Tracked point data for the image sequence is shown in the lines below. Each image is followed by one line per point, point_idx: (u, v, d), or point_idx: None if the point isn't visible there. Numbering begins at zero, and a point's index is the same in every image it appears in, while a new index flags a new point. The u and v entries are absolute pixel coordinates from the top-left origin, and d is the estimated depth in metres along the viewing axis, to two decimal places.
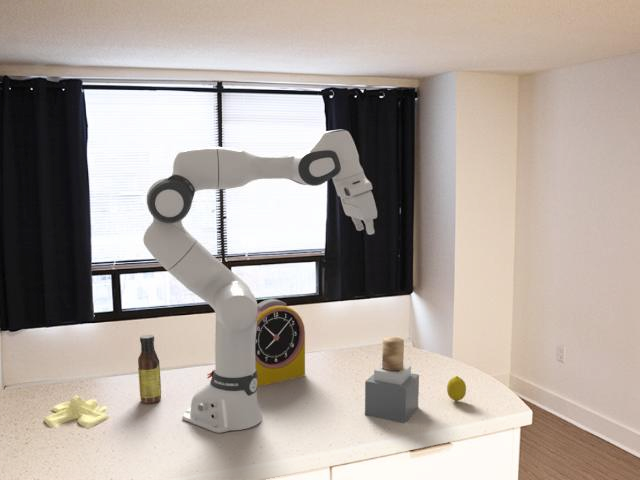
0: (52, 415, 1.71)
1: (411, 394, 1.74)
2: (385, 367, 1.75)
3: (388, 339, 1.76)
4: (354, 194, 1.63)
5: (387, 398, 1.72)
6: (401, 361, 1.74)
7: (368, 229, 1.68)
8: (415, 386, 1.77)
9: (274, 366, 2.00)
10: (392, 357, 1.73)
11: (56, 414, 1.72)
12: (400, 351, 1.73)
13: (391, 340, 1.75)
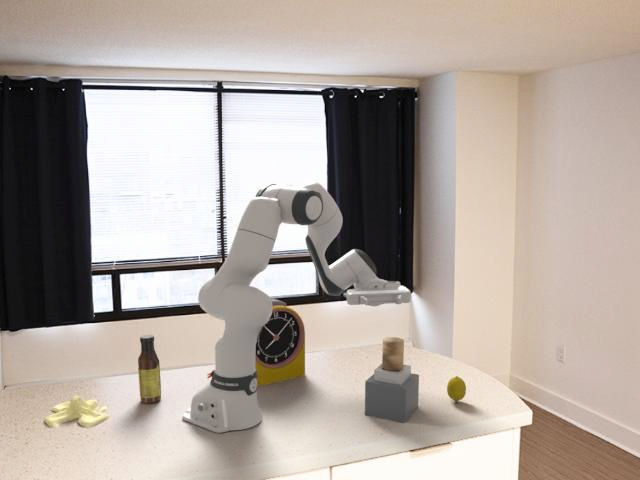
0: (52, 415, 1.71)
1: (411, 394, 1.74)
2: (385, 367, 1.75)
3: (388, 339, 1.76)
4: (400, 285, 1.99)
5: (387, 398, 1.72)
6: (401, 361, 1.74)
7: (400, 298, 1.88)
8: (415, 386, 1.77)
9: (274, 366, 2.00)
10: (392, 357, 1.73)
11: (56, 414, 1.72)
12: (400, 351, 1.73)
13: (391, 340, 1.75)
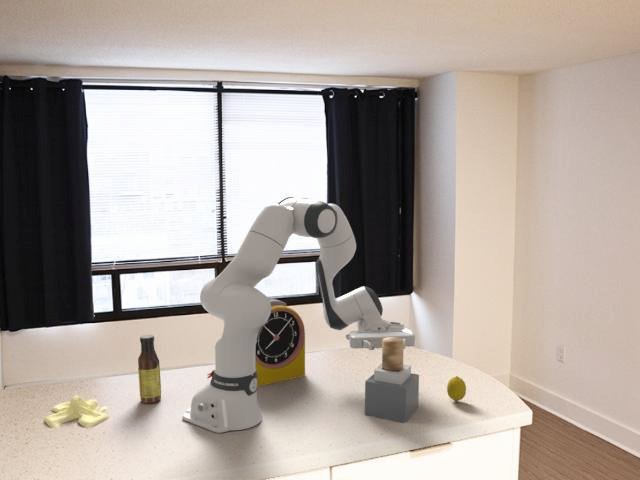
0: (52, 415, 1.71)
1: (411, 394, 1.74)
2: (385, 367, 1.75)
3: (388, 339, 1.76)
4: None
5: (387, 398, 1.72)
6: (401, 361, 1.74)
7: (404, 342, 1.84)
8: (415, 386, 1.77)
9: (274, 366, 2.00)
10: (392, 357, 1.73)
11: (56, 414, 1.72)
12: (400, 351, 1.73)
13: (391, 340, 1.75)
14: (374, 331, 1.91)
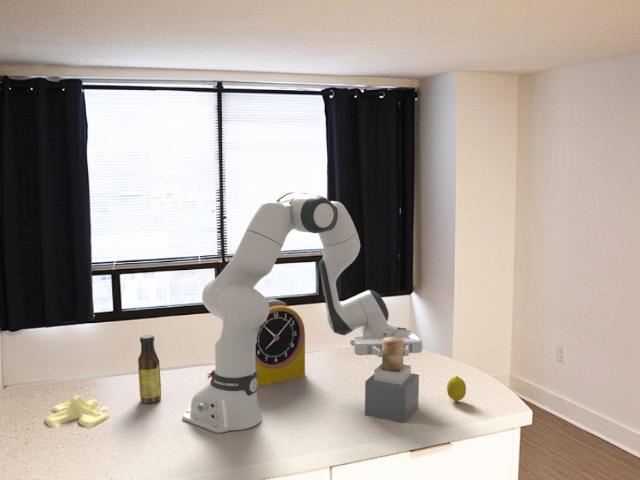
0: (52, 415, 1.71)
1: (411, 394, 1.74)
2: (385, 367, 1.75)
3: (388, 339, 1.76)
4: (410, 332, 1.88)
5: (387, 398, 1.72)
6: (401, 361, 1.74)
7: (407, 349, 1.77)
8: (415, 386, 1.77)
9: (274, 366, 2.00)
10: (392, 357, 1.73)
11: (56, 414, 1.72)
12: (400, 351, 1.73)
13: (391, 340, 1.75)
14: (380, 337, 1.85)
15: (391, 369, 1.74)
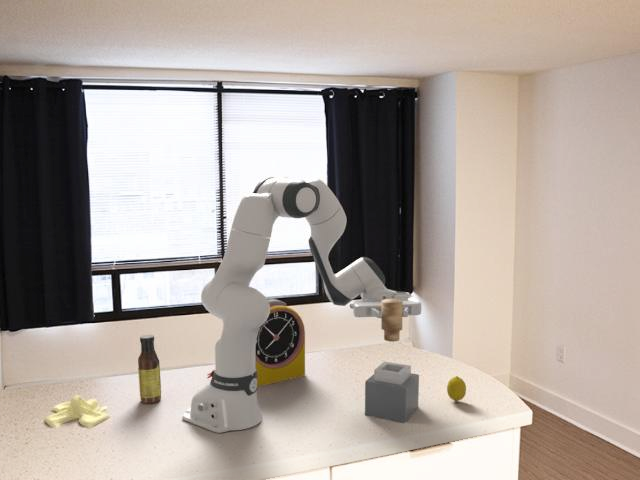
0: (53, 415, 1.71)
1: (411, 394, 1.74)
2: (384, 328, 1.75)
3: (387, 300, 1.77)
4: (410, 296, 1.89)
5: (387, 398, 1.72)
6: (400, 322, 1.75)
7: (406, 310, 1.78)
8: (415, 386, 1.77)
9: (274, 366, 2.00)
10: (391, 318, 1.74)
11: (57, 414, 1.72)
12: (399, 312, 1.74)
13: (390, 301, 1.76)
14: (379, 300, 1.85)
15: (390, 330, 1.74)
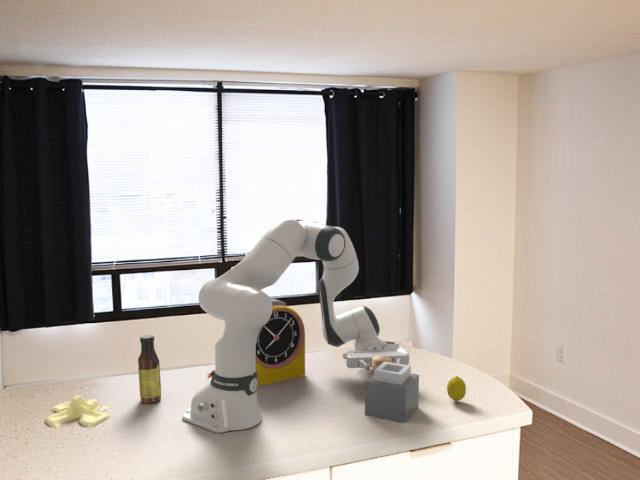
0: (53, 415, 1.72)
1: (411, 394, 1.74)
2: None
3: (377, 358, 1.90)
4: None
5: (387, 398, 1.72)
6: None
7: (398, 362, 1.91)
8: (415, 386, 1.77)
9: (274, 366, 2.00)
10: None
11: (57, 414, 1.72)
12: None
13: (380, 359, 1.89)
14: (370, 351, 1.99)
15: None
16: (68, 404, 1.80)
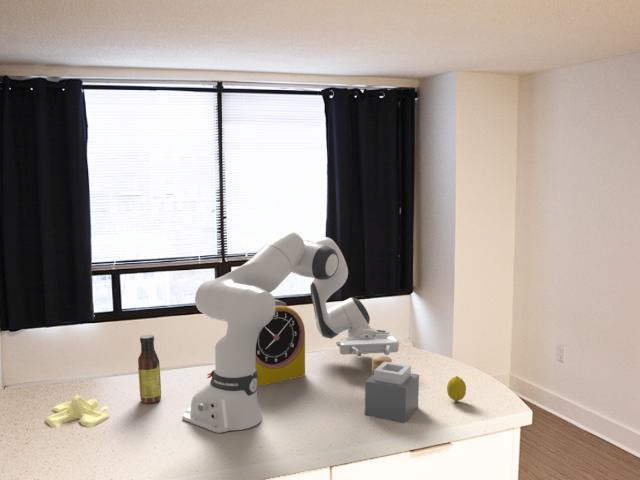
0: (53, 415, 1.72)
1: (411, 394, 1.74)
2: None
3: (377, 358, 1.90)
4: (389, 334, 2.15)
5: (387, 398, 1.72)
6: None
7: (388, 349, 2.04)
8: (415, 386, 1.77)
9: (274, 366, 2.00)
10: None
11: (57, 414, 1.72)
12: None
13: (380, 359, 1.90)
14: (362, 338, 2.11)
15: None
16: (68, 404, 1.80)
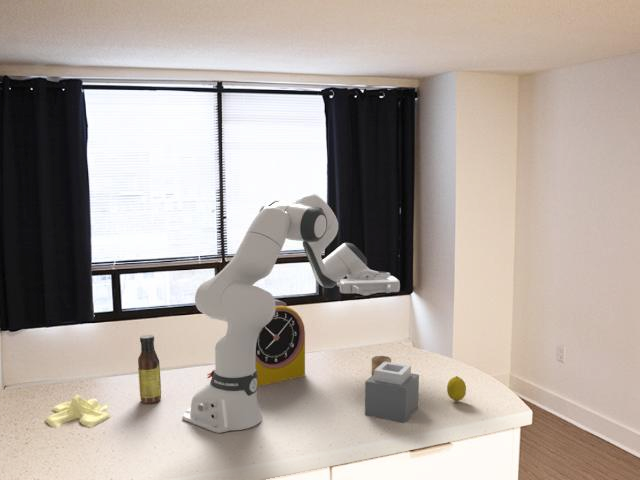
0: (53, 415, 1.72)
1: (411, 394, 1.74)
2: None
3: (377, 358, 1.90)
4: None
5: (387, 398, 1.72)
6: None
7: None
8: (415, 386, 1.77)
9: (274, 366, 2.00)
10: None
11: (57, 414, 1.72)
12: None
13: (380, 359, 1.89)
14: (362, 279, 2.08)
15: None
16: (68, 404, 1.80)
